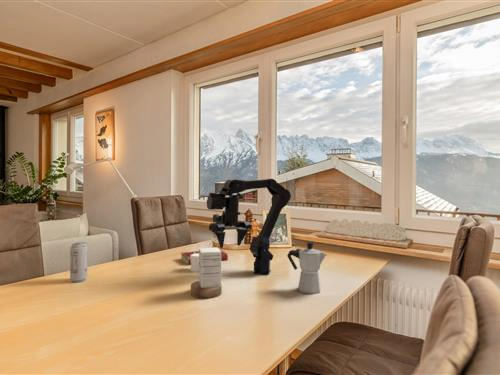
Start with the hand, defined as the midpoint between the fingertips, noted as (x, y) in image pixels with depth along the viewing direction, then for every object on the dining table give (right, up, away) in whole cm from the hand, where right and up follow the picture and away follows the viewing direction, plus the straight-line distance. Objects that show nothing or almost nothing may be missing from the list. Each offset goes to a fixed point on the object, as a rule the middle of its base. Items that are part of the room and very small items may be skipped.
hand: (230, 246), depth 131 cm
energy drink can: (-60, -13, -6) cm, 62 cm away
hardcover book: (-15, -13, +28) cm, 35 cm away
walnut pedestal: (-8, -13, -18) cm, 24 cm away
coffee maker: (+29, -14, -13) cm, 35 cm away
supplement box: (-6, -11, -18) cm, 22 cm away
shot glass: (-15, -13, +10) cm, 23 cm away
